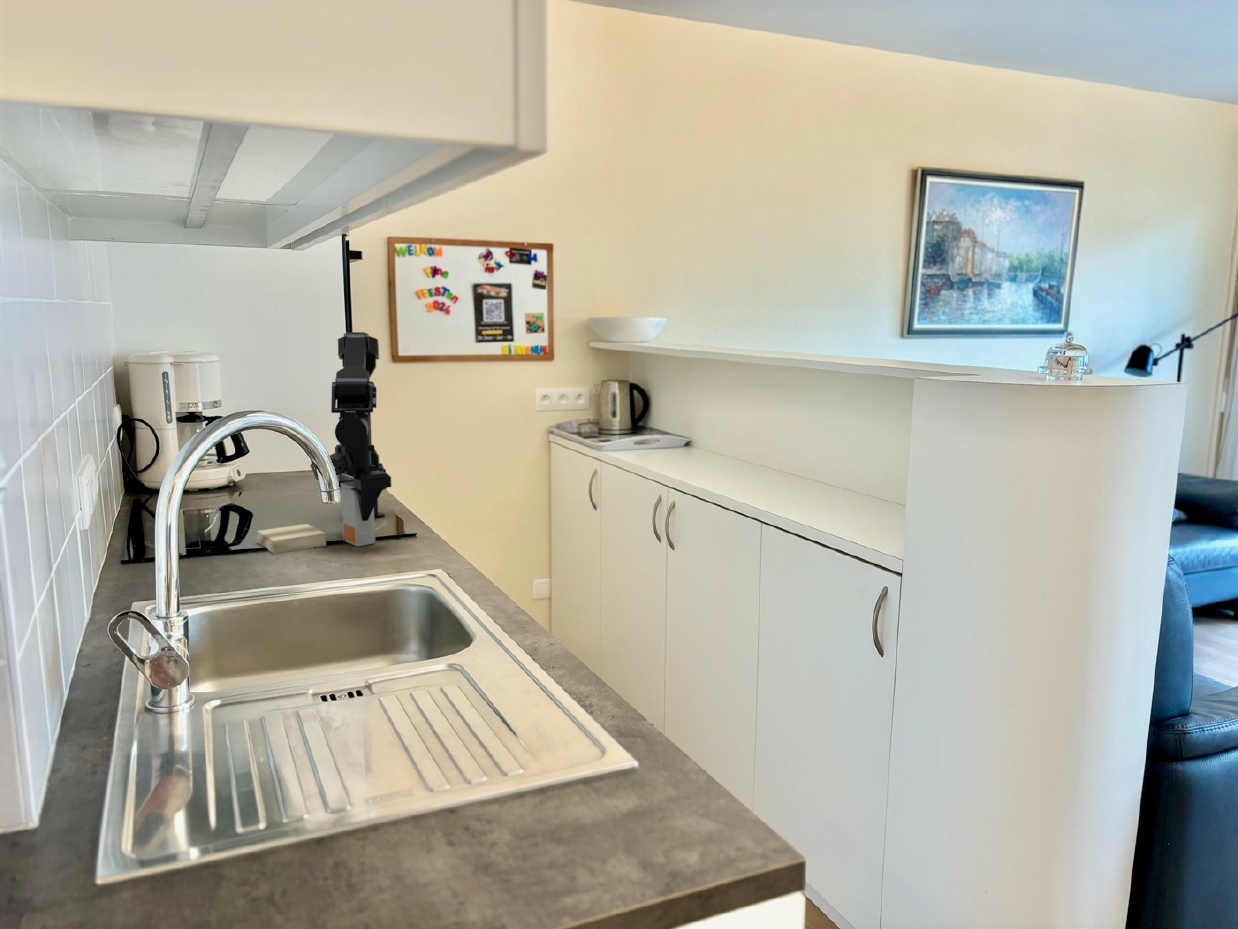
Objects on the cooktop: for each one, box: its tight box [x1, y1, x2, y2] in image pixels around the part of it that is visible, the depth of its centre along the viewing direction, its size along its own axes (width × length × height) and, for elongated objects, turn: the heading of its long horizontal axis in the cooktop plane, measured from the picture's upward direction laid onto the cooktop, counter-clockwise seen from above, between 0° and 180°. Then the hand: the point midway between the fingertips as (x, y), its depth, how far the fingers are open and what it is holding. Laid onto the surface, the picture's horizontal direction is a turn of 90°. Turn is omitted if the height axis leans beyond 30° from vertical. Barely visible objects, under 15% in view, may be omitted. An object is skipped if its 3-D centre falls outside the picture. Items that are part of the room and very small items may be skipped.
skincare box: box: [340, 481, 376, 547], centre depth 179 cm, size 6×4×12 cm
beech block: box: [255, 523, 327, 555], centre depth 178 cm, size 10×10×3 cm
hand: (358, 517), depth 179 cm, fingers closed on skincare box, 6 cm apart
